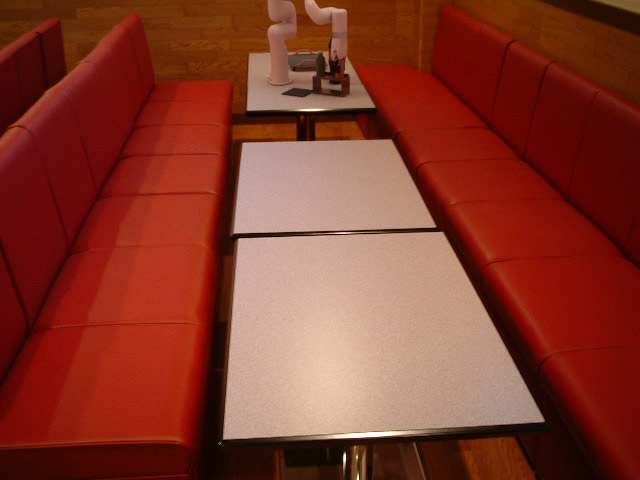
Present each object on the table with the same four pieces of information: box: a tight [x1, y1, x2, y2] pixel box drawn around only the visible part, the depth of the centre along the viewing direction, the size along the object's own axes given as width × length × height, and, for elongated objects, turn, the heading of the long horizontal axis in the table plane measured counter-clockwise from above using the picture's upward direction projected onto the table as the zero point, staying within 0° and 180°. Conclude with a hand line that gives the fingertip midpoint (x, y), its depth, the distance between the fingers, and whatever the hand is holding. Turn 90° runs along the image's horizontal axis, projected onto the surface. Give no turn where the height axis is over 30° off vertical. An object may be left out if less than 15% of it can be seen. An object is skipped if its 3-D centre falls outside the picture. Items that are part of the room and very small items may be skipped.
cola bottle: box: [327, 36, 341, 85], centre depth 347 cm, size 8×8×30 cm
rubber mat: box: [281, 87, 313, 98], centre depth 337 cm, size 13×13×1 cm
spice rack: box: [311, 70, 351, 98], centre depth 333 cm, size 18×8×10 cm, turn 62°
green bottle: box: [315, 50, 326, 76], centre depth 330 cm, size 5×5×12 cm
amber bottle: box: [335, 58, 345, 78], centre depth 326 cm, size 5×5×12 cm
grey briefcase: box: [288, 48, 329, 72], centre depth 394 cm, size 39×23×6 cm, turn 7°
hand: (339, 71), depth 327 cm, fingers closed on amber bottle, 4 cm apart
